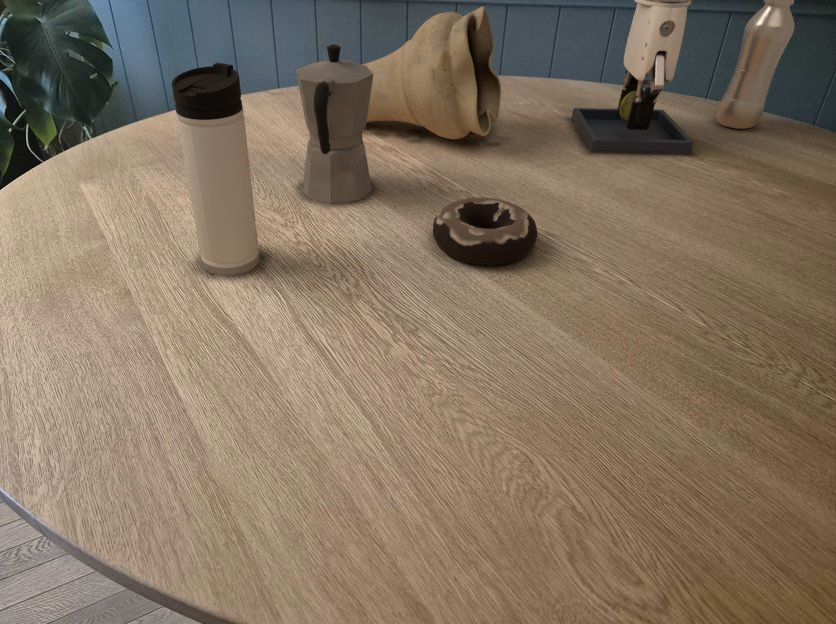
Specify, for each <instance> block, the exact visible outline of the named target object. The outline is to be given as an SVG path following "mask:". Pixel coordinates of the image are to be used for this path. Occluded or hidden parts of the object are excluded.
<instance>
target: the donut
mask: <svg viewBox="0 0 836 624" xmlns="http://www.w3.org/2000/svg"><path fill="white" fill-rule="evenodd" d="M432 236H433V238H434V240H435V242H436V244H437V246H438V247H439V249H441V250H442V252H444V253H445V254H447V255H448V256H449V257H451V258H454V259H455V260H457V261H460V262H463V263H467V264H471V265H478V266H485V267H487V266H501V265H502V266H503V265H507V264H512V263H514V262H516V261H519V260H521V259H523V258H524V257H525V256H527V255H528V254H529V253H530V252H532V250H533V248H534V246H535V244H536V241H537V239H538V228H537V224H536V221H535V219H534V218H533V217H532V216H531V214H530V213H529V212H528V211H527V210H526V209H524V208H522V207H521V206H520V205H517V204H515V203H513V202H510V201H508V200H503V199H500V198H495V197H494V198H493V197H468V198H463V199H459V200H456V201H453V202H451V203H449V204H447V205H445V206H444V207H443V208H442V209H440V210H439V212H438V213H437V215H436V216H435V218H434V219H433V223H432Z"/></svg>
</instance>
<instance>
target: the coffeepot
mask: <svg viewBox="0 0 836 624" xmlns="http://www.w3.org/2000/svg"><path fill="white" fill-rule="evenodd" d="M326 51H327V56H328V60H325V61H318V62H312V63H309V64H307V65H304V66H302V67H299V68H297V69H295V75H296V81H297V85H298V89H299V95H300V100H301V105H302V111H303V116H304V122H305V125H306V127H307V130H308V132H309V136H308V137H309V140H308V142H307V146H306V147H307V148H306V156H305V163H304V164H305V165H304V172H303V182H302V187H303V190H304V193H305V195H306V197H307V198H308V199H311V200H314V201H318V202H320V203H321V202H322V203H326V204H330V205H335V204H336V205H337V204H347V203H352V202H359V201H360V200H362V199H363V198H365V197H366V196H367V195H369V193H371V192H372V191H373V189H372V188H373V187H372V183H371V175H370V170H369V164H368V158H367V152H366V147H365V146H366V145H365V143H364V140H363V131H364V130H365V129H366V128H367V123H368V122H367V115H368V108H369V102H370V95H371V88H372V81H373V75H374V74H373V73H372V72H371V71H370V69H369V68H368V67H367V66H365V65H363V64H358V63H354V62H353V61H352V60H350V59H347V60H344V59H343V60H341V59H340V54H341V46H340V45H338V44H334V43H333V44H330V45H327V46H326Z"/></svg>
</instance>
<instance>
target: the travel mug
mask: <svg viewBox="0 0 836 624" xmlns="http://www.w3.org/2000/svg"><path fill="white" fill-rule="evenodd" d="M240 81H241V80H240V75H239V73H238V71H237V70H235V69H234V65H233V64H229V63H222V62H215V63H213V64H212V66H211V65H209V66H208V65H207V66H200V67H196V68H192V69H188V70H186V71H184V72H181V73H180V74H177V76H175V77H174V78H173V79H172V81H171V88H172V96H173V101H174V102H175V103H174V104H175V105H174V107H175V116H176V118H177V120H176V122H177V127H178V132H179V140H180V145H181V150H182V156H183V162H184V168H185V169H184V170H185V173H186V181H187V187H188V191H189V196H190V203H191V209H192V214H193V221H194V227H195V231H196V232H195V233H196V237H197V242H198V243H197V244H198V249H199V255H200V260H201V266H202V268H203V269H204V270H205V271H206V272H207V273H209V274H211V275H214V276H221V277H229V276H230V277H231V276H237V275H238V276H239V275H242V274H245V273H247V272H250V271H252V270H253V269H255V268H256V267H257V266H258V265H259V263H260V259H261V258H260V250H259V249H260V248H259V241H258V240H259V239H258V231H257V221H256V214H255V213H256V212H255V204H254V196H253V185H252V177H251V175H252V174H251V166H250V158H249V150H248V149H249V147H248V142H247V141H248V140H247V131H246V120H245V114H244V106H243V101H242V91H241V82H240Z"/></svg>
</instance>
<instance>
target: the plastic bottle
mask: <svg viewBox="0 0 836 624" xmlns="http://www.w3.org/2000/svg"><path fill="white" fill-rule="evenodd" d="M763 3H764V5H763V7H761V8H760V9H759V10H758V11H757V12H756V13H755V14H754V15H753V16H752V17H751V18H750V19H749V20H748V22H747V24H745V27H744V31H743V35H742V40H741V45H740V51H739V55H738V58H737V62H736V65H735V68H734V72H733V75H732V77H731V79H730V81H729V84H728V86H727V88H726V91H725V93H724V94H723V96H722V98H721V99H720V101H719V103H718V106H717V108H716V113H715V114H716V117H715V118H716V120H717V123H718V124H720V125H721V126H724V127H728V128H733V129H740V130H743V129H744V130H746V129H751V128H753V127H754V126H756V125H757V124H758V122H759V121H760V120H761V118H762V116H763V114H764V110H765V106H766V97H767V95H768V91H769V89H770V84H771V81H772V79H773V78H772V77H773V75H774V72H775V70H776V68H777V66H778V64H779V61H780V59H781V57H782V55H783V53H784V51H785V49H786V48H787V46H788V45H789V42H790V39H791V38H792V37H793V34H794V33H795V22H794V17H793V14H792V11H791V6H793V5H794V3H795V0H763Z"/></svg>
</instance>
